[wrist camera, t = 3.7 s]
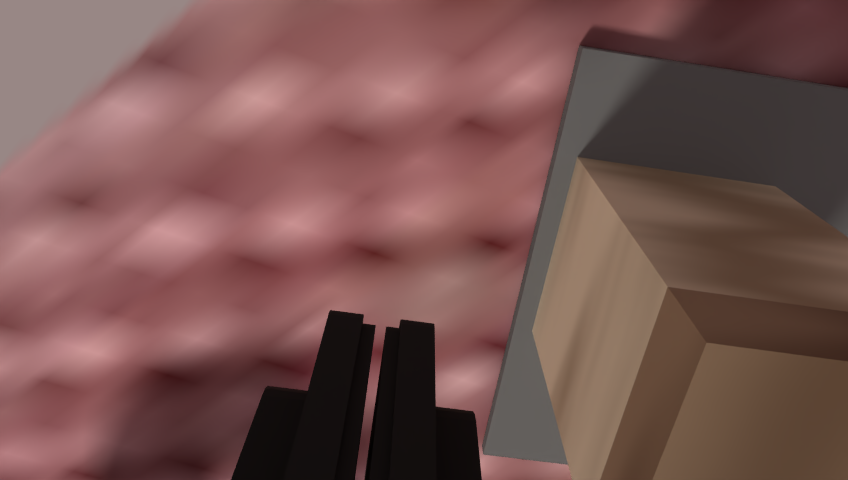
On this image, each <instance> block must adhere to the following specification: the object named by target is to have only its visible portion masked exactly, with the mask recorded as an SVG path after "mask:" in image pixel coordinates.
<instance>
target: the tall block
mask: <svg viewBox="0 0 848 480" xmlns="http://www.w3.org/2000/svg"><path fill="white" fill-rule="evenodd" d="M532 332H533V336H534V340H535V344H536V347H537V351H538V355H539V358H540V362H541V366H542V370H543V373H544V377H545V381H546V384H547V388H548V392H549V396H550V399H551V403H552V407H553V410H554V414H555V418H556V422H557V425H558V429H559V433H560V436H561V440H562V444H563V448H564V451H565V455H566V459H567V462H568V466H569V470H570V473H571V477H572V480H848V237H847V236H845V235H844V234H843V233H841V232H840V231H838V230H837V229H835V228H834V227H833V226H831V225H830V224H828V223H827V222H825V221H824V220H823V219H821V218H820V217H818V216H817V215H816V214H814V213H813V212H811V211H810V210H808V209H807V208H806V207H804V206H803V205H801V204H800V203H798V202H797V201H796V200H794V199H793V198H791V197H790V196H789V195H787V194H786V193H784V192H783V191H781V190H780V189H779V188H777V187H776V186H770V185H763V184H756V183H750V182H743V181H736V180H730V179H723V178H716V177H709V176H703V175H696V174H689V173H682V172H676V171H669V170H662V169H656V168H649V167H642V166H635V165H629V164H622V163H615V162H608V161H602V160H595V159H588V158H582V157H577V160H576V164H575V167H574V171H573V175H572V179H571V183H570V187H569V191H568V194H567V198H566V202H565V206H564V210H563V214H562V218H561V221H560V225H559V229H558V233H557V237H556V241H555V245H554V248H553V252H552V256H551V260H550V264H549V268H548V272H547V275H546V279H545V283H544V287H543V291H542V295H541V299H540V302H539V306H538V310H537V314H536V318H535V322H534V326H533V329H532Z"/></svg>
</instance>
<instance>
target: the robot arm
mask: <svg viewBox="0 0 848 480" xmlns="http://www.w3.org/2000/svg"><path fill="white" fill-rule="evenodd" d="M363 317H364V315H363V314H355V313H348V312H340V311H332V310H330V312H329V315H328V318H327V322H326V326H325V330H324V333H323V337H322V341H321V344H320V348H319V352H318V355H317V359H316V363H315V366H314V370H313V374H312V377H311V381H310V385H309V388H308V391H304V390H296V389H287V388H279V387H271V386H267V387H266V388H265V390H264V393H263V395H262V397H261V400H260V403H259V406H258V408H257V411H256V414H255V416H254V419H253V422H252V425H251V427H250V430H249V433H248V435H247V438H246V441H245V443H244V446H243V449H242V452H241V454H240V457H239V460H238V462H237V465H236V468H235V470H234V473H233V476H232V479H231V480H355V473H356V466H357V459H358V451H359V444H360V437H361V429H362V422H363V415H364V407H365V400H366V393H367V385H368V378H369V370H370V363H371V356H372V348H373V341H374V334H375V326H376V325H370V324H363ZM365 480H482V478H481V468H480V457H479V447H478V437H477V427H476V419H475V414H474V412H473V411H466V410H458V409H450V408H442V407H436V405H435V328H434V324H432V323H425V322H417V321H409V320H401V321H400V326H399V328H393V327H386V333H385V339H384V346H383V353H382V360H381V367H380V374H379V381H378V388H377V395H376V402H375V409H374V416H373V423H372V430H371V437H370V443H369V450H368V457H367V465H366V472H365Z"/></svg>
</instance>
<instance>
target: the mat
mask: <svg viewBox="0 0 848 480" xmlns="http://www.w3.org/2000/svg"><path fill="white" fill-rule="evenodd" d="M577 157H582V158H588V159H595V160H602V161H608V162H615V163H622V164H629V165H635V166H642V167H649V168H656V169H662V170H669V171H676V172H682V173H689V174H696V175H703V176H709V177H716V178H723V179H730V180H736V181H743V182H750V183H756V184H763V185H770V186H776V187H777V188H779V189H780V190H781V191H783V192H784V193H786V194H787V195H789V196H790V197H791V198H793V199H794V200H796V201H797V202H798V203H800V204H801V205H803V206H804V207H806V208H807V209H808V210H810V211H811V212H813V213H814V214H816V215H817V216H818V217H820V218H821V219H823V220H824V221H825V222H827V223H828V224H830V225H831V226H833V227H834V228H835V229H837V230H838V231H840V232H841V233H843V234H844V235H845V236H847V237H848V88H844V87H838V86H831V85H825V84H819V83H813V82H806V81H800V80H794V79H787V78H781V77H775V76H769V75H762V74H756V73H750V72H743V71H737V70H731V69H725V68H718V67H712V66H706V65H699V64H693V63H687V62H681V61H674V60H668V59H662V58H655V57H649V56H643V55H636V54H630V53H624V52H618V51H611V50H605V49H599V48H592V47H586V46H580V45H579V48H578V52H577V57H576V61H575V65H574V69H573V73H572V77H571V81H570V85H569V90H568V94H567V98H566V102H565V106H564V110H563V114H562V118H561V123H560V127H559V131H558V135H557V139H556V143H555V147H554V151H553V156H552V160H551V164H550V168H549V172H548V176H547V180H546V184H545V189H544V193H543V197H542V201H541V205H540V209H539V213H538V217H537V221H536V226H535V230H534V234H533V238H532V242H531V246H530V250H529V254H528V259H527V263H526V267H525V271H524V275H523V279H522V283H521V287H520V292H519V296H518V300H517V304H516V308H515V312H514V316H513V320H512V325H511V329H510V333H509V337H508V341H507V345H506V349H505V353H504V358H503V362H502V366H501V370H500V374H499V378H498V382H497V386H496V390H495V395H494V399H493V403H492V407H491V411H490V415H489V419H488V423H487V428H486V432H485V436H484V440H483V444H482V447H483V454H484V455H492V456H501V457H509V458H517V459H526V460H534V461H542V462H551V463H559V464H567V465H568V462H567V459H566V455H565V451H564V448H563V444H562V440H561V436H560V433H559V429H558V425H557V422H556V418H555V414H554V410H553V407H552V403H551V399H550V396H549V392H548V388H547V384H546V381H545V377H544V373H543V370H542V366H541V362H540V358H539V355H538V351H537V347H536V344H535V340H534V336H533V332H532V329H533V326H534V322H535V318H536V314H537V310H538V306H539V302H540V299H541V295H542V291H543V287H544V283H545V279H546V275H547V272H548V268H549V264H550V260H551V256H552V252H553V248H554V245H555V241H556V237H557V233H558V229H559V225H560V221H561V218H562V214H563V210H564V206H565V202H566V198H567V194H568V191H569V187H570V183H571V179H572V175H573V171H574V167H575V164H576V160H577Z"/></svg>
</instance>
